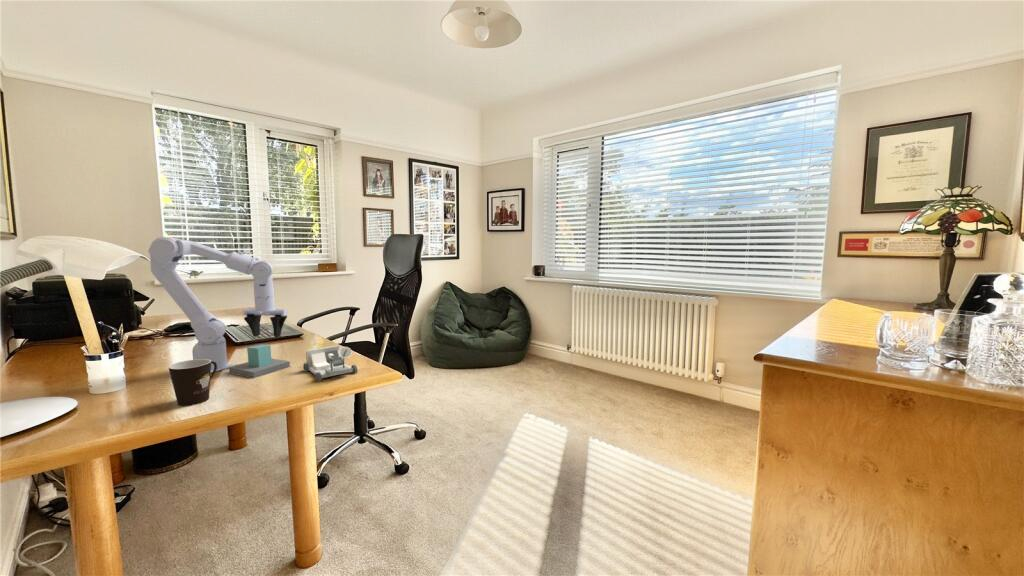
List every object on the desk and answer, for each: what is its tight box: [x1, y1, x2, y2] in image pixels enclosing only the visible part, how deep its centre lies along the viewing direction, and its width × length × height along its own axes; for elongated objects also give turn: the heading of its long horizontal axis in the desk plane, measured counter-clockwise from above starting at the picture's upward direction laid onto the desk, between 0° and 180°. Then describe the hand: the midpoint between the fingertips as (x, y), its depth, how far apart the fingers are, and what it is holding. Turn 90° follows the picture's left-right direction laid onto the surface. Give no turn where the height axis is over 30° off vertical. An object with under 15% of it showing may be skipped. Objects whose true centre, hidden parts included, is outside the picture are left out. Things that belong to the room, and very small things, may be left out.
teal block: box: [246, 343, 272, 367], centre depth 128 cm, size 4×4×6 cm
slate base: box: [228, 357, 291, 379], centre depth 128 cm, size 12×12×2 cm
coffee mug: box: [168, 359, 217, 407], centre depth 104 cm, size 12×9×10 cm
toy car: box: [302, 345, 358, 383], centre depth 125 cm, size 18×10×12 cm
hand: (267, 336), depth 135 cm, fingers open, 7 cm apart
